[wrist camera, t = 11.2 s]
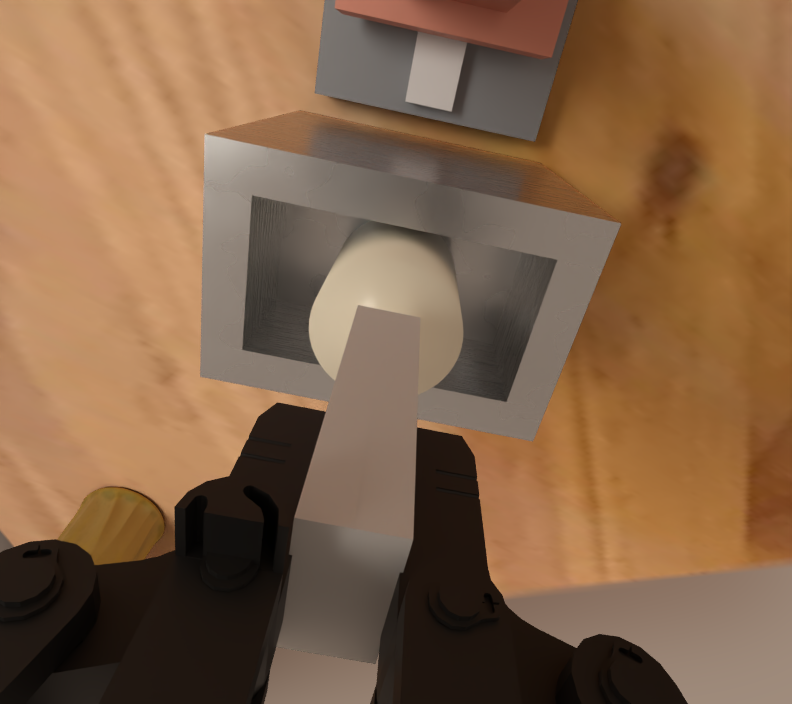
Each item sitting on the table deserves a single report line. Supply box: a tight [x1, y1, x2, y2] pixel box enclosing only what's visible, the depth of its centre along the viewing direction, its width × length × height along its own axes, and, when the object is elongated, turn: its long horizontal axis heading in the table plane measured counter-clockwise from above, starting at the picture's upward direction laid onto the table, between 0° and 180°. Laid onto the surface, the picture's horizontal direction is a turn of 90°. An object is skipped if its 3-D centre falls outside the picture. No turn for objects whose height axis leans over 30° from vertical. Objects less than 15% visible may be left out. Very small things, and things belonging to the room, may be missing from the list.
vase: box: [57, 487, 165, 565], centre depth 32 cm, size 6×6×14 cm
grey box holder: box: [200, 111, 621, 441], centre depth 22 cm, size 8×13×12 cm, turn 79°
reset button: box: [309, 221, 463, 395], centre depth 17 cm, size 4×4×5 cm
